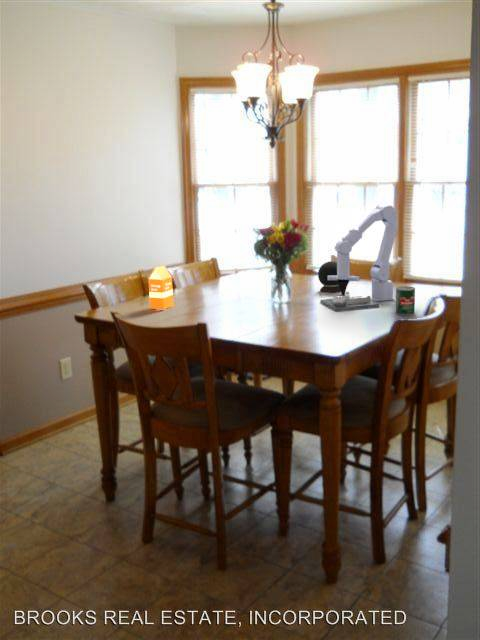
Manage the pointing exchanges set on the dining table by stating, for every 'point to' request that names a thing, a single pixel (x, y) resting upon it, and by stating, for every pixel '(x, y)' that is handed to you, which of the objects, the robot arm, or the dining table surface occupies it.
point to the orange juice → (160, 288)
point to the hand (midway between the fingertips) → (343, 295)
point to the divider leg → (347, 295)
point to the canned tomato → (405, 300)
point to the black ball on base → (323, 274)
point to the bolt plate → (348, 307)
